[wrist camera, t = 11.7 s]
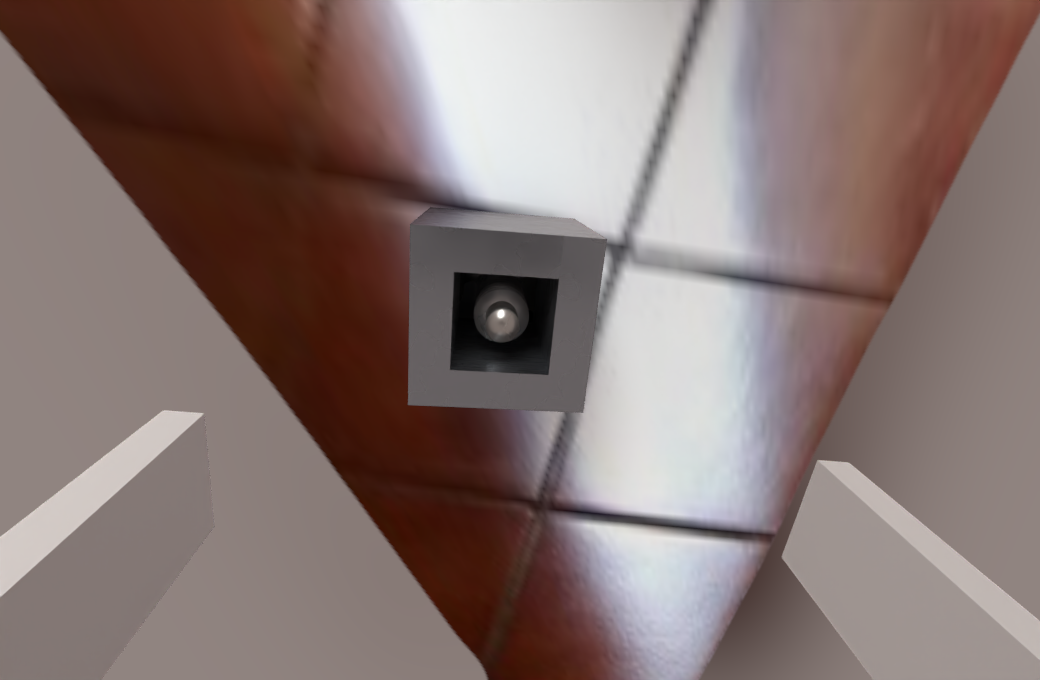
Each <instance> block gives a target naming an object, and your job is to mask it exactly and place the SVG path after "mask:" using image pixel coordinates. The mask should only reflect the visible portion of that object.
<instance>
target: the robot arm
mask: <svg viewBox="0 0 1040 680" xmlns="http://www.w3.org/2000/svg"><path fill="white" fill-rule="evenodd" d="M213 528H214V515H213V504H212V494H211V482H210V471H209V460H208V449H207V438H206V427H205V417H204V413H191V412H179V411H178V412H177V411H164V410H163V411H162V412H161V413H159V414H158V415H157V416H155V417H154V418H153V419H152V420H150V421H149V422H148V423H146V424H145V425H144V426H143V427H141V428H140V429H139V430H137V431H136V432H135V433H134V434H132V435H131V436H130V437H128V438H127V439H126V440H124V441H123V442H122V443H121V444H119V445H118V446H117V447H115V448H114V449H113V450H112V451H110V452H109V453H108V454H106V455H105V456H104V457H103V458H101V459H100V460H99V461H97V462H96V463H95V464H94V465H92V466H91V467H90V468H88V469H87V470H86V471H85V472H83V473H82V474H81V475H79V476H78V477H77V478H76V479H74V480H73V481H72V482H70V483H69V484H68V485H67V486H65V487H64V488H63V489H61V490H60V491H59V492H58V493H57V494H55V495H54V496H52V497H51V498H50V499H48V500H47V501H46V502H45V503H43V504H42V505H41V506H39V507H38V508H37V509H36V510H34V511H33V512H32V513H31V514H29V515H28V516H27V517H25V518H24V519H23V520H21V521H20V522H19V523H18V524H16V525H15V526H14V527H12V528H11V529H10V530H9V531H7V532H6V533H5V534H3V535H2V536H1V537H0V680H102V678H103V677H104V676H105V674H106V673H107V671H108V670H109V669H110V667H111V666H112V665H113V663H114V662H115V660H116V659H117V658H118V657H119V655H120V654H121V653H122V651H123V650H124V648H125V647H126V646H127V644H128V643H129V642H130V640H131V639H132V638H133V636H134V635H135V633H136V632H137V631H138V630H139V628H140V627H141V626H142V624H143V623H144V621H145V620H146V619H147V617H148V616H149V614H150V613H151V612H152V611H153V609H154V608H155V607H156V605H157V604H158V602H159V601H160V599H161V598H162V597H163V596H164V594H165V593H166V592H167V590H168V589H169V588H170V586H171V585H172V584H173V582H174V581H175V579H176V578H177V577H178V575H179V574H180V573H181V571H182V570H183V569H184V567H185V566H186V565H187V563H188V562H189V561H190V559H191V558H192V556H193V555H194V553H195V552H196V551H197V550H198V548H199V547H200V545H201V544H202V543H203V541H204V540H205V539H206V537H207V536H208V535H209V533H210V532H211V531H212V529H213ZM782 558H783V560H784V561H785V563H786V564H787V565H788V567H789V568H790V569H791V571H792V572H793V573H794V575H795V576H796V577H797V579H798V580H799V581H800V583H801V584H802V585H803V587H804V588H805V589H806V591H807V592H808V593H809V595H810V596H811V597H812V599H813V600H814V601H815V603H816V604H817V605H818V607H819V608H820V609H821V610H822V612H823V613H824V615H825V616H826V617H827V619H828V620H829V621H830V623H831V624H832V625H833V627H834V628H835V629H836V631H837V632H838V633H839V635H840V636H841V637H842V639H843V640H844V641H845V643H846V644H847V645H848V647H849V648H850V649H851V651H852V652H853V653H854V655H855V656H856V657H857V659H858V660H859V661H860V663H861V664H862V665H863V667H864V668H865V669H866V671H867V672H868V673H869V675H870V676H871V677H872V679H873V680H1040V621H1039V620H1038V619H1037V618H1035V617H1034V616H1033V615H1032V614H1031V613H1030V612H1028V611H1027V610H1026V609H1025V608H1024V607H1022V606H1021V605H1020V604H1019V603H1018V602H1016V601H1015V600H1014V599H1013V598H1011V597H1010V596H1009V595H1008V594H1007V593H1006V592H1004V591H1003V590H1002V589H1001V588H1000V587H998V586H997V585H996V584H995V583H993V582H992V581H991V580H990V579H989V578H987V577H986V576H985V575H984V574H982V573H981V572H980V571H979V570H978V569H977V568H975V567H974V566H973V565H972V564H971V563H969V562H968V561H967V560H966V559H965V558H963V557H962V556H961V555H960V554H958V553H957V552H956V551H955V550H954V549H952V548H951V547H950V546H949V545H948V544H946V543H945V542H944V541H943V540H942V539H940V538H939V537H938V536H937V535H936V534H934V533H933V532H932V531H931V530H929V529H928V528H927V527H926V526H925V525H923V524H922V523H921V522H920V521H919V520H917V519H916V518H915V517H914V516H913V515H911V514H910V513H909V512H908V511H907V510H905V509H904V508H903V507H902V506H901V505H899V504H898V503H897V502H896V501H894V500H893V499H892V498H891V497H890V496H888V495H887V494H886V493H885V492H884V491H882V490H881V489H880V488H879V487H877V486H876V485H875V484H874V483H873V482H872V481H870V480H869V479H868V478H867V477H866V476H864V475H863V474H862V473H861V472H859V471H858V470H857V469H856V468H855V467H854V466H852V465H851V464H850V463H849V462H836V461H823V460H817V463H816V466H815V468H814V471H813V473H812V476H811V479H810V482H809V484H808V487H807V490H806V492H805V495H804V498H803V501H802V503H801V506H800V509H799V511H798V514H797V517H796V520H795V522H794V525H793V528H792V530H791V533H790V536H789V538H788V541H787V544H786V547H785V550H784V552H783V555H782Z"/></svg>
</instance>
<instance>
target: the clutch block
mask: <svg viewBox="0 0 1040 680" xmlns="http://www.w3.org/2000/svg"><path fill="white" fill-rule="evenodd" d="M606 242H607V239H606V238H604V237H603V236H601V235H600V234H598V233H596V232H595V231H593V230H592V229H590V228H588V227H587V226H585V225H584V224H582V223H580V222H579V221H577V220H575V219H571V218H559V217H546V216H533V215H521V214H508V213H496V212H483V211H470V210H458V209H445V208H433V207H430V208H429V209H428V210H427V211H425V212H424V213H423V214H422V215H421V216H419V217H418V218H417V219H416V220H415V221H413V222H412V223H411V224H410V287H409V375H408V405H421V406H444V407H467V408H490V409H512V410H535V411H558V412H581V413H583V408H584V401H585V394H586V387H587V379H588V372H589V365H590V358H591V351H592V343H593V336H594V329H595V322H596V315H597V307H598V300H599V293H600V286H601V278H602V271H603V264H604V257H605V250H606ZM461 272H464V273H479V274H493V275H508V276H523V277H537V280H536V290H535V301H534V311H533V322H528V324H527V327H526V329H525V330H524V332H523V333H522V334H521V335H520V336H519V337H517V338H516V339H514V340H511V341H508V342H494V341H491V340H489V339H487V338H485V337H484V336H483V335H482V334H481V333H480V332H479V331H478V329H477V328H476V325H475V322H474V318H459V299H460V277H461Z"/></svg>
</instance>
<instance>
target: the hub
mask: <svg viewBox="0 0 1040 680" xmlns="http://www.w3.org/2000/svg"><path fill="white" fill-rule="evenodd" d="M536 280H537V277H523V276H508V275H493V274H479V273H464V272H461V277H460V299H459V318H474V322H475V325H476V328H477V329H478V331H479V332H480V333H481V334H482V335H483V336H484V337H485V338H487V339H489V340H491V341H494V342H508V341H511V340H514V339H516V338H517V337H519V336H520V335H521V334H522V333H523V332H524V330H525V329H526V327H527V324H528V322H533V311H534V301H535V290H536Z"/></svg>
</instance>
